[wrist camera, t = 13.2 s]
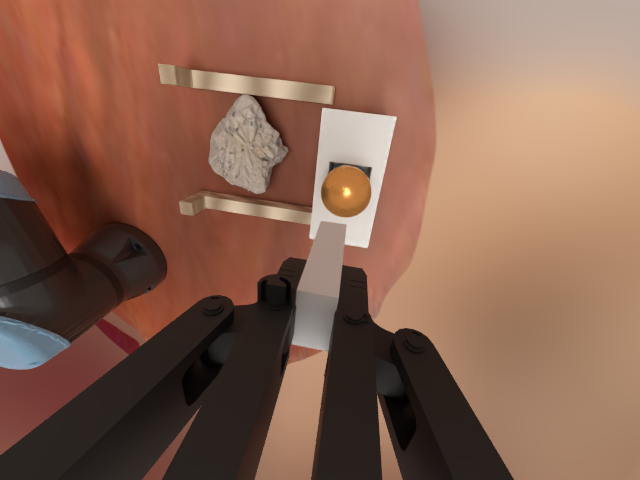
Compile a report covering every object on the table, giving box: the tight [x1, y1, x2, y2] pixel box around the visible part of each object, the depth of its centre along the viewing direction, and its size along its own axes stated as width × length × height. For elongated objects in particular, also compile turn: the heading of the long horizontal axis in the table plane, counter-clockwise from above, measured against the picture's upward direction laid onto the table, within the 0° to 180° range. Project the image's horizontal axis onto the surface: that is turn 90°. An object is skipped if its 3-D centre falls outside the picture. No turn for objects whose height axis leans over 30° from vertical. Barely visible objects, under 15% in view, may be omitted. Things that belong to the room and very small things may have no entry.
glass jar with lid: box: [321, 163, 371, 217], centre depth 28 cm, size 5×5×8 cm
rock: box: [209, 94, 289, 194], centre depth 36 cm, size 11×11×6 cm
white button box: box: [309, 108, 397, 248], centre depth 32 cm, size 7×14×12 cm, turn 174°
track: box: [158, 64, 335, 225], centre depth 36 cm, size 20×19×6 cm
